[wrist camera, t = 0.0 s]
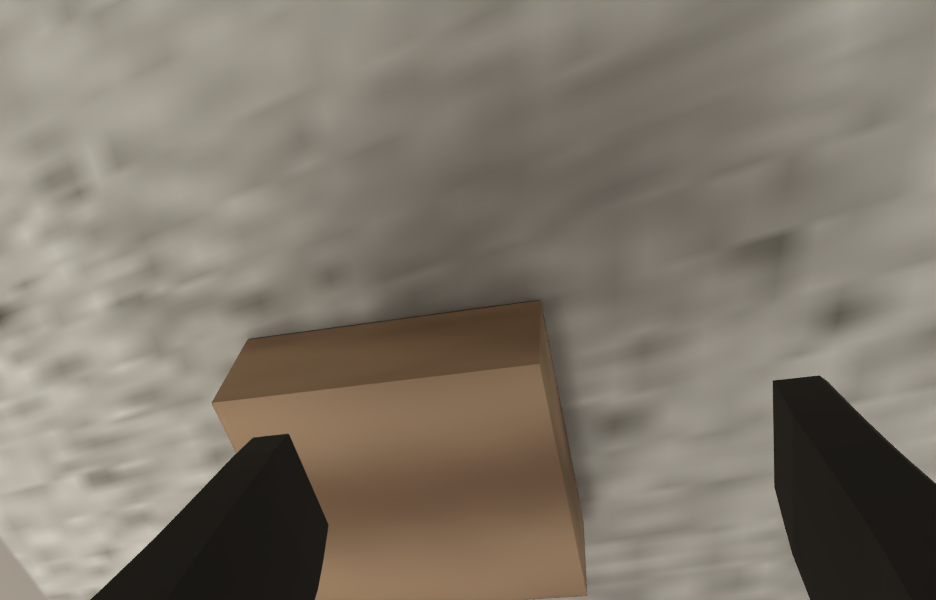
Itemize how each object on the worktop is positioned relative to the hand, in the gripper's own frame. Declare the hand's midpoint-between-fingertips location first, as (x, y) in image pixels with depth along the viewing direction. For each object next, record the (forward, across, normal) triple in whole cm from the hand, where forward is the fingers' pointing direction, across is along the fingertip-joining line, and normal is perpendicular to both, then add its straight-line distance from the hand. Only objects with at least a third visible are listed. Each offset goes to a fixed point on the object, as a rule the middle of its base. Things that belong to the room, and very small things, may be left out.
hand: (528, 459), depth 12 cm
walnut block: (+10, +5, +8) cm, 14 cm away
